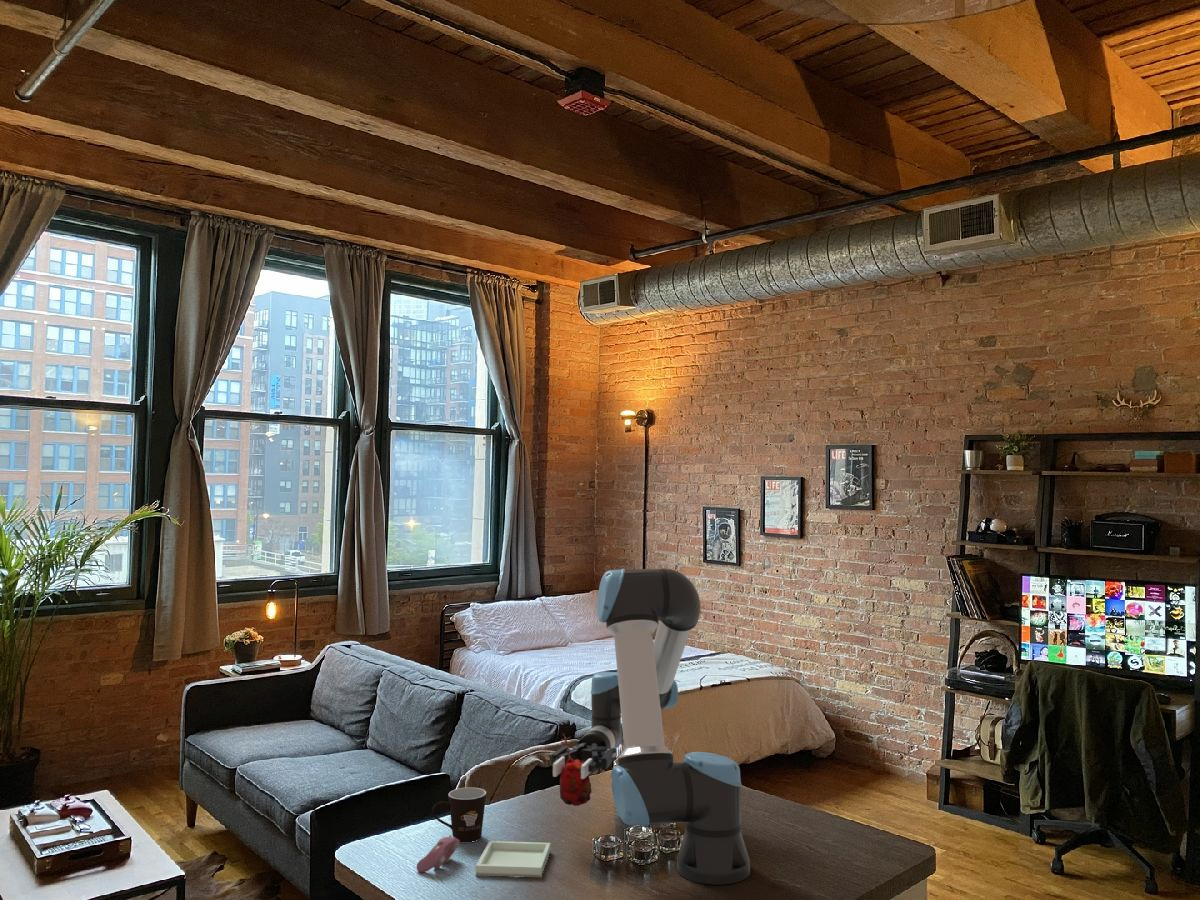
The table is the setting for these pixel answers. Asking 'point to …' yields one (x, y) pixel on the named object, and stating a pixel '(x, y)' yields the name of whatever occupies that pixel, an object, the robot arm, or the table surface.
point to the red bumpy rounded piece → (573, 782)
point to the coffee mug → (465, 813)
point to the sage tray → (513, 859)
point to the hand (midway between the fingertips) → (568, 771)
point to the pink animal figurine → (438, 854)
